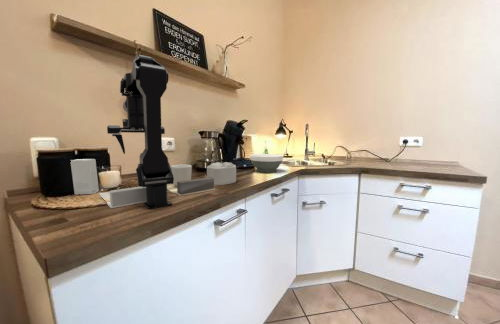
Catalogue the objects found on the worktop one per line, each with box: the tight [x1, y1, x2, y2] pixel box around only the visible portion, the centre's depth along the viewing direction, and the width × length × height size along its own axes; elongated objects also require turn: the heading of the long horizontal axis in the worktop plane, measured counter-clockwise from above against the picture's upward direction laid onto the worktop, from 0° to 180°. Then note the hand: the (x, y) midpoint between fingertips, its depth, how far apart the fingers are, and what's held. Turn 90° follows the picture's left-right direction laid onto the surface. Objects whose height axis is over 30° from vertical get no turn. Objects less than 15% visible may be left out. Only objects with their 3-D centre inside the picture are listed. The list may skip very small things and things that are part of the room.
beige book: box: [167, 177, 216, 197], centre depth 87 cm, size 20×14×4 cm
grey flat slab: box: [98, 186, 147, 209], centre depth 74 cm, size 20×14×4 cm
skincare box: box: [70, 158, 100, 196], centre depth 78 cm, size 6×4×12 cm
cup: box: [170, 164, 193, 186], centre depth 90 cm, size 11×8×8 cm
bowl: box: [249, 153, 284, 174], centre depth 130 cm, size 20×20×10 cm
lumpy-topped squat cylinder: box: [206, 161, 237, 186], centre depth 99 cm, size 10×13×9 cm
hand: (138, 153), depth 84 cm, fingers open, 9 cm apart
